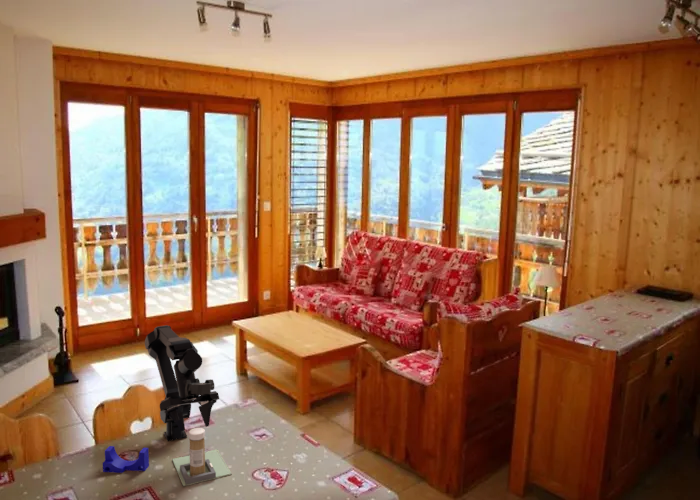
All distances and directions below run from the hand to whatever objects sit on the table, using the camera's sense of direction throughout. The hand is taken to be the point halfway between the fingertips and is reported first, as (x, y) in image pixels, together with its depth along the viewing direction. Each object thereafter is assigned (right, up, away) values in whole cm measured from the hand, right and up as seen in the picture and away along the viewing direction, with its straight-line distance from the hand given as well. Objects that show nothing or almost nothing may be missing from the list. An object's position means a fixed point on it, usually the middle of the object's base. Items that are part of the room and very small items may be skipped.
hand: (195, 428), depth 170 cm
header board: (+2, -11, -2) cm, 12 cm away
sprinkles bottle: (+2, -12, -6) cm, 13 cm away
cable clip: (-20, -11, -3) cm, 23 cm away
